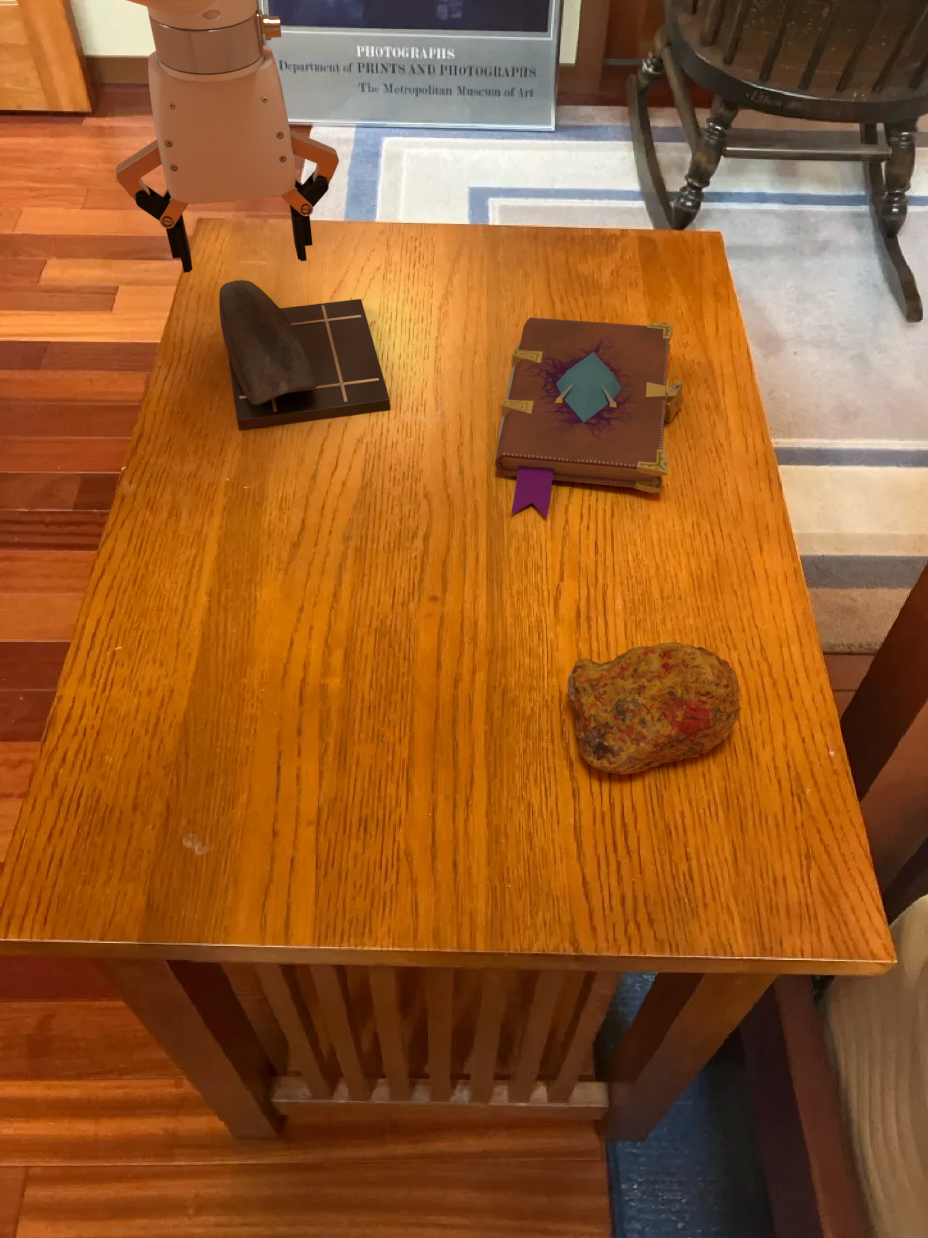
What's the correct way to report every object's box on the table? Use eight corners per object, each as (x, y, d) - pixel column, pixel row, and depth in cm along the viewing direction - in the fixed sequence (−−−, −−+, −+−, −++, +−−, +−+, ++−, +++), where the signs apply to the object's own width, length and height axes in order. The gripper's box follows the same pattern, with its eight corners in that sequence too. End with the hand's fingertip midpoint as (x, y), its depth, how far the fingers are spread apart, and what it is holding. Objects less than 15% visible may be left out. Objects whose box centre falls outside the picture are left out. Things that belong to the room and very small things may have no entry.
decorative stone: (325, 406, 85) (320, 369, 82) (257, 424, 83) (249, 387, 80) (269, 301, 94) (263, 265, 91) (207, 316, 93) (198, 279, 89)
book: (484, 520, 80) (483, 478, 76) (521, 344, 95) (522, 301, 91) (676, 539, 78) (686, 497, 74) (683, 356, 93) (692, 313, 89)
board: (239, 430, 85) (236, 419, 84) (224, 324, 94) (222, 313, 93) (390, 409, 87) (389, 398, 86) (361, 308, 96) (361, 297, 95)
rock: (656, 811, 68) (573, 775, 61) (611, 725, 73) (532, 684, 67) (779, 718, 64) (704, 669, 57) (721, 635, 70) (648, 582, 63)
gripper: (321, 11, 70) (338, 225, 84) (82, 24, 67) (139, 244, 81) (336, 52, 66) (351, 272, 79) (81, 68, 63) (142, 293, 76)
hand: (244, 257), depth 80 cm, fingers open, 9 cm apart
